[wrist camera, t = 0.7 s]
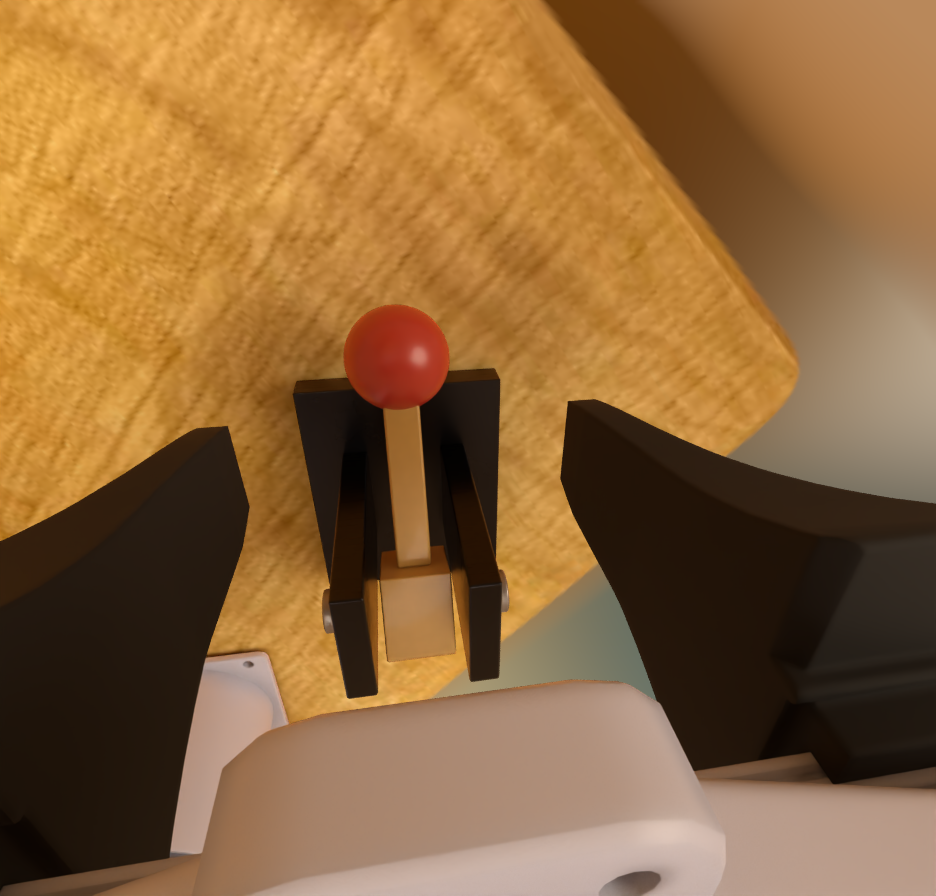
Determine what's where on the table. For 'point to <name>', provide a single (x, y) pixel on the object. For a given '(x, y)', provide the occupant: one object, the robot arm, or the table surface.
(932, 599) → the robot arm
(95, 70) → the table surface
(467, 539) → the switch bracket
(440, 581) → the switch lever
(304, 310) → the table surface
